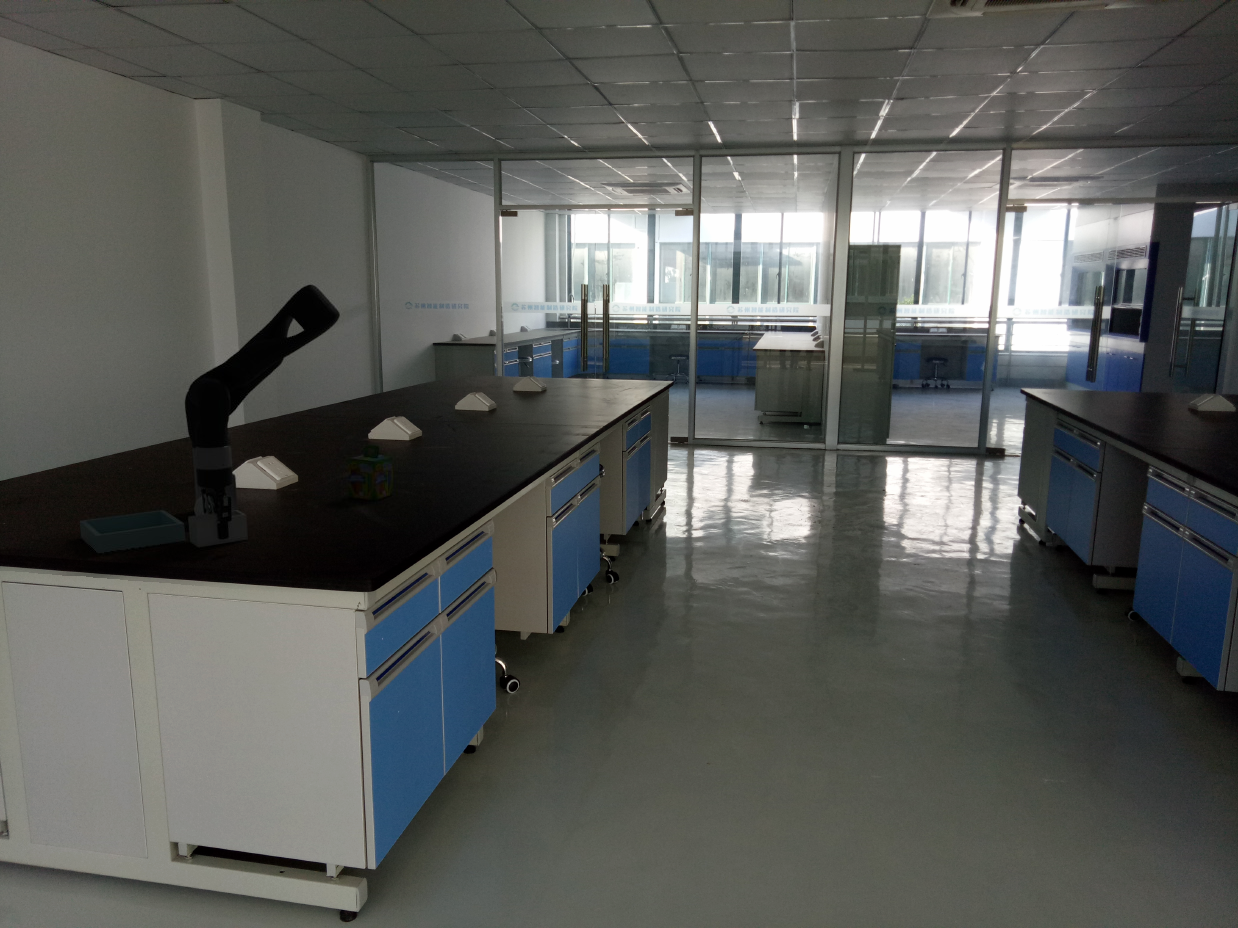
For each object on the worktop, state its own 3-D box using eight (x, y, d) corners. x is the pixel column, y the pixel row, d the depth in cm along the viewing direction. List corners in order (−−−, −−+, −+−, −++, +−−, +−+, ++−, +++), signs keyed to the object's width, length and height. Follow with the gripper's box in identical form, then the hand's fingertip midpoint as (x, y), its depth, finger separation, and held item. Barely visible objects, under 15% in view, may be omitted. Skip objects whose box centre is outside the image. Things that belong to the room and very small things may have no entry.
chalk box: (348, 498, 253) (346, 447, 250) (367, 492, 261) (365, 442, 259) (375, 501, 250) (373, 449, 247) (394, 494, 258) (393, 444, 256)
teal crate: (164, 527, 220) (163, 509, 219) (185, 542, 207) (184, 523, 207) (81, 539, 208) (79, 520, 207) (98, 555, 196) (96, 535, 195)
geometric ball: (203, 533, 223) (185, 507, 223) (233, 518, 228) (215, 492, 228) (206, 525, 217) (188, 498, 217) (236, 509, 222) (218, 483, 222)
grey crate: (238, 534, 213) (237, 509, 212) (247, 539, 209) (246, 514, 208) (190, 541, 206) (188, 516, 205) (198, 547, 202) (196, 521, 201)
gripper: (241, 468, 201) (246, 539, 204) (220, 458, 212) (225, 527, 215) (206, 471, 196) (211, 545, 199) (187, 462, 207) (192, 532, 210)
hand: (218, 535), depth 207 cm, fingers closed on grey crate, 6 cm apart
